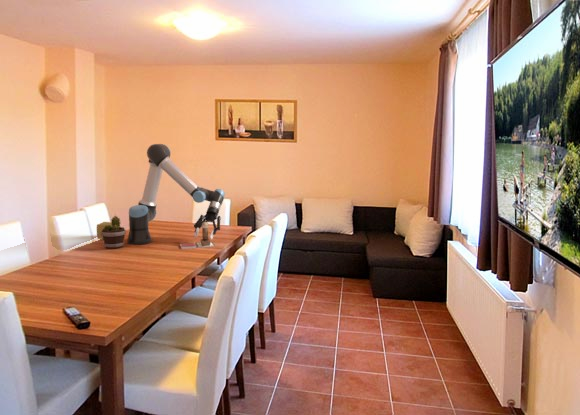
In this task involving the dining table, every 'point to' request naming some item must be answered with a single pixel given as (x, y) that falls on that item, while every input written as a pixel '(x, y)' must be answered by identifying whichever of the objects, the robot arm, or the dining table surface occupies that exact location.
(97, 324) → the dining table surface
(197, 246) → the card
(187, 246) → the ink pad
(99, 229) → the cheese
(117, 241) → the flowerpot
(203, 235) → the stamp
